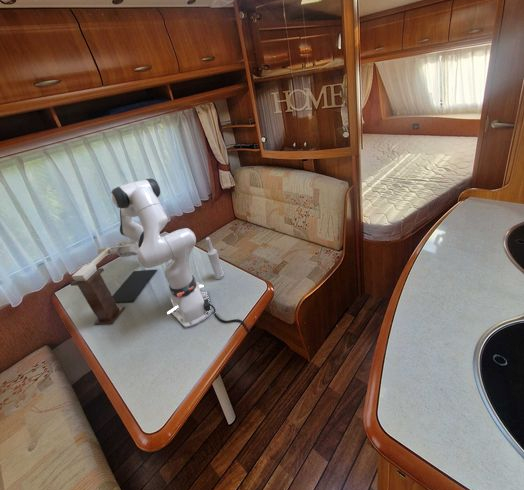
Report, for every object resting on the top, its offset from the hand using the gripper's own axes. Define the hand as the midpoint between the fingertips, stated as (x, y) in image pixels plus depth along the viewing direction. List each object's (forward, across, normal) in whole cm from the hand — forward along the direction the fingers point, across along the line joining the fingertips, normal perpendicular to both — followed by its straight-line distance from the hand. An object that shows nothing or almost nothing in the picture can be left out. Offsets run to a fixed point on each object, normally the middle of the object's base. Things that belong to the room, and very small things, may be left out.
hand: (106, 251), depth 139 cm
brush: (+6, 0, +7) cm, 9 cm away
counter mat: (-20, 0, +22) cm, 30 cm away
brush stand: (-1, 0, +33) cm, 33 cm away
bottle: (-23, +52, +20) cm, 60 cm away
